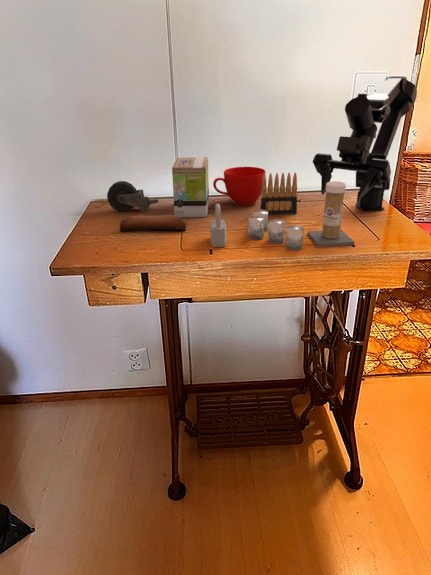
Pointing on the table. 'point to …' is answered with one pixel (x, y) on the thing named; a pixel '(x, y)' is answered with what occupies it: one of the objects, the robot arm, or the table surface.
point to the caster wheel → (127, 197)
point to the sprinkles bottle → (333, 209)
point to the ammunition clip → (279, 195)
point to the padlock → (218, 229)
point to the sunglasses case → (152, 223)
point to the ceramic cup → (242, 184)
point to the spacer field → (275, 230)
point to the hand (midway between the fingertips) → (339, 196)
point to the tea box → (190, 187)
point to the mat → (326, 242)
